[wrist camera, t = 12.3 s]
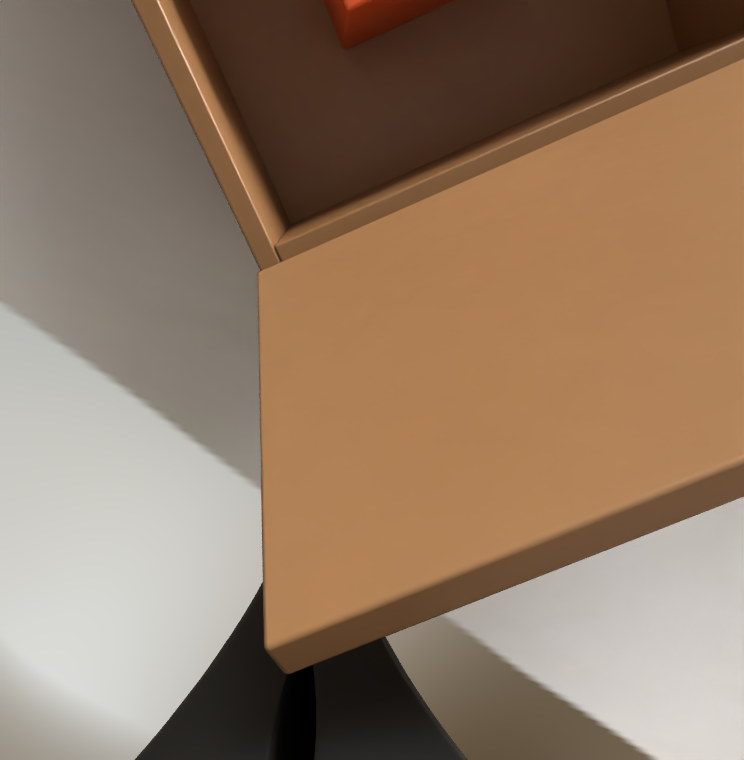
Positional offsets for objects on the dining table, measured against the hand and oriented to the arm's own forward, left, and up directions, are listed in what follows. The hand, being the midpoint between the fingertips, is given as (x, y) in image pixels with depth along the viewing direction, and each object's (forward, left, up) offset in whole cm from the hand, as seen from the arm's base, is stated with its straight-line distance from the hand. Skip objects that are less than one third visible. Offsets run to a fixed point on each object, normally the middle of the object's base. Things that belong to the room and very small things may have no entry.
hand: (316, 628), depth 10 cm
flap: (-6, -4, +1) cm, 8 cm away
